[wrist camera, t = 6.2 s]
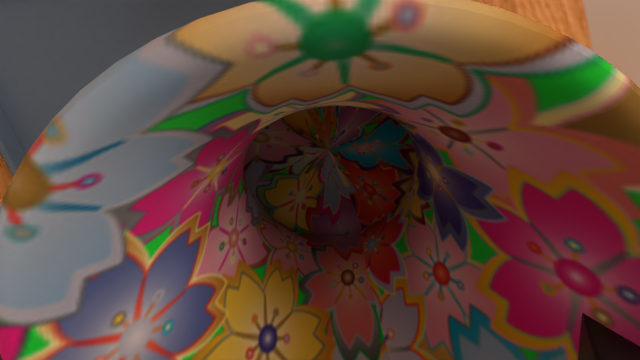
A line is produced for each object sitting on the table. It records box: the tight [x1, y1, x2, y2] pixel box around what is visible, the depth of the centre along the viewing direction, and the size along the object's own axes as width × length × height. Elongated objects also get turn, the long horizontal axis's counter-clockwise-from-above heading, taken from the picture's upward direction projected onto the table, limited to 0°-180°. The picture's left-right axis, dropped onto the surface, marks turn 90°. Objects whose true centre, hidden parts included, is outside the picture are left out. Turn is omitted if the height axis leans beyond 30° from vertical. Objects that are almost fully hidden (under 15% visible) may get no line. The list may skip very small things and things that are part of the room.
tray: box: [0, 0, 260, 176], centre depth 27 cm, size 27×17×2 cm, turn 98°
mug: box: [0, 0, 640, 360], centre depth 10 cm, size 12×9×11 cm
